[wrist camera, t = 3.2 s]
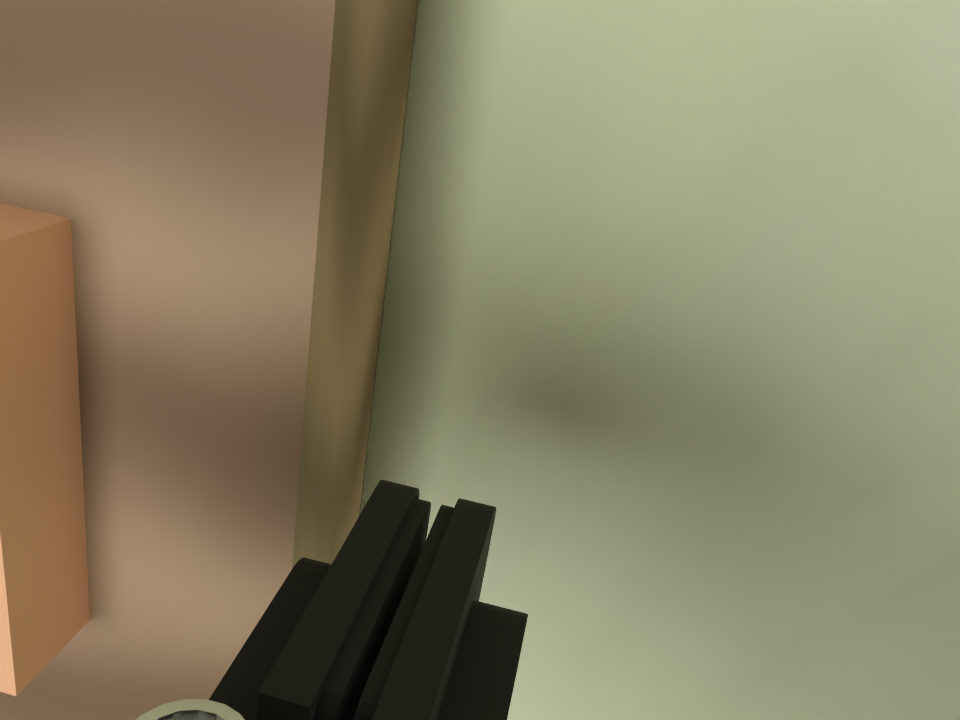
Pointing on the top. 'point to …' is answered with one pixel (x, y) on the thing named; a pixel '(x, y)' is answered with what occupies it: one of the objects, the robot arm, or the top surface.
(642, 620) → the top surface
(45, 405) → the tile
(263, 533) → the deck
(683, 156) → the top surface
